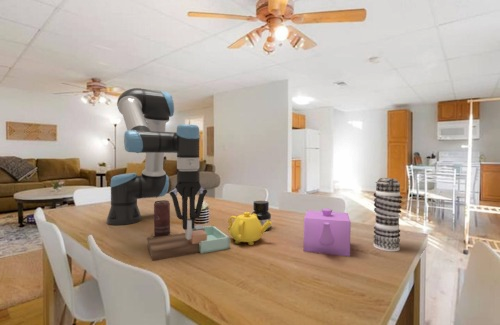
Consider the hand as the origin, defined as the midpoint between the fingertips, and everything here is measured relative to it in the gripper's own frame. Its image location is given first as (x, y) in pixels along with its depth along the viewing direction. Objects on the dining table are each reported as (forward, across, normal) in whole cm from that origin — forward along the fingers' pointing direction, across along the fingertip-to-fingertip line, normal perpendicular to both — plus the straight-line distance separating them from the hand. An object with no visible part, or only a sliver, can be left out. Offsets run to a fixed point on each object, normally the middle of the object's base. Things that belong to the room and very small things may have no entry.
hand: (188, 238), depth 91 cm
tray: (+4, +8, +4) cm, 10 cm away
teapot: (+5, +24, 0) cm, 24 cm away
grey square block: (+1, +4, +8) cm, 9 cm away
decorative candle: (+5, +65, -29) cm, 71 cm away
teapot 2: (+5, +45, -20) cm, 49 cm away
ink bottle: (+5, +36, +12) cm, 38 cm away
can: (+5, -5, +22) cm, 23 cm away
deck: (+5, -5, +4) cm, 8 cm away
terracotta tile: (+2, +3, 0) cm, 4 cm away
